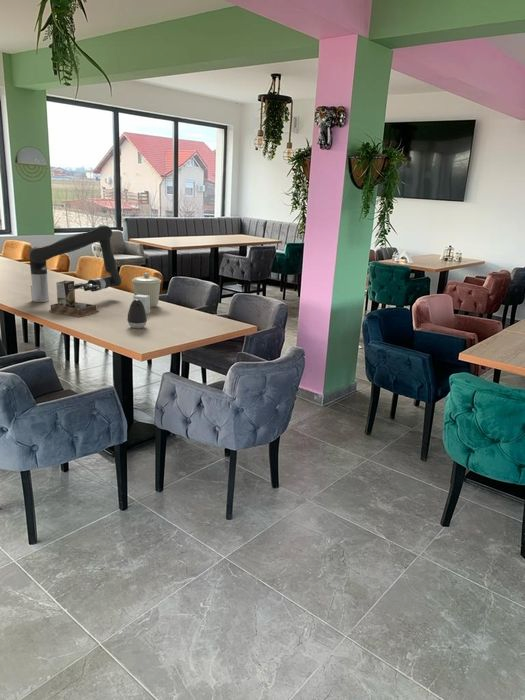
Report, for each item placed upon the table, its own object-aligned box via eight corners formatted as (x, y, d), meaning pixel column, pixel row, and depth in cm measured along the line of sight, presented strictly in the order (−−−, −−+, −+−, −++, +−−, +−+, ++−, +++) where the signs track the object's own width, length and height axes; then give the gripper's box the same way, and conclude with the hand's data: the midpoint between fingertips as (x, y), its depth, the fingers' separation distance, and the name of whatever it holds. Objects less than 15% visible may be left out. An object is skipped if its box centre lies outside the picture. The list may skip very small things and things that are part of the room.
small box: (150, 313, 318) (150, 295, 315) (145, 314, 313) (145, 297, 310) (138, 311, 320) (138, 294, 317) (133, 313, 315) (133, 295, 312)
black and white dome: (129, 330, 278) (128, 301, 274) (126, 325, 287) (125, 297, 283) (149, 329, 282) (148, 301, 278) (145, 324, 291) (144, 297, 287)
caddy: (49, 311, 308) (48, 303, 307) (68, 306, 322) (68, 298, 321) (79, 316, 300) (79, 308, 299) (98, 311, 315) (97, 303, 313)
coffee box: (67, 311, 308) (65, 283, 303) (57, 310, 309) (55, 282, 305) (76, 307, 317) (74, 280, 312) (66, 306, 318) (64, 280, 313)
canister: (141, 310, 322) (140, 275, 316) (126, 305, 335) (126, 271, 329) (167, 307, 334) (167, 274, 328) (152, 302, 347) (151, 269, 340)
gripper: (87, 277, 335) (69, 281, 321) (105, 279, 330) (88, 283, 316) (87, 289, 338) (69, 293, 323) (106, 291, 333) (88, 296, 318)
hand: (78, 288), depth 320 cm, fingers open, 8 cm apart
